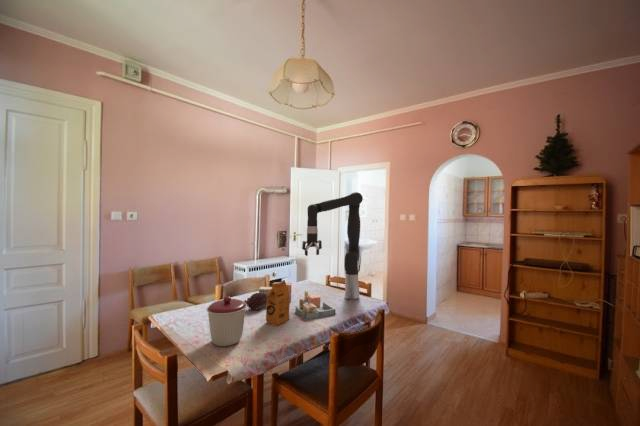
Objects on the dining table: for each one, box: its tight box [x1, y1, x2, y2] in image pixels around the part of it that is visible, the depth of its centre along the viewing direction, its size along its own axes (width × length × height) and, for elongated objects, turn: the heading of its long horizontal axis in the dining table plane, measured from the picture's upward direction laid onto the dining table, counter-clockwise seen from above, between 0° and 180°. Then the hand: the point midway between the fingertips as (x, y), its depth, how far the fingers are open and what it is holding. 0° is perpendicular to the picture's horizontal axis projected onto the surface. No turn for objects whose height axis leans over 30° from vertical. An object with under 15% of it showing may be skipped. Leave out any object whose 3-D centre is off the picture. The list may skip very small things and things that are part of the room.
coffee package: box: [265, 279, 291, 326], centre depth 153 cm, size 10×12×22 cm
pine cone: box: [243, 292, 268, 311], centre depth 172 cm, size 18×10×10 cm, turn 132°
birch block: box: [298, 298, 318, 314], centre depth 167 cm, size 6×16×6 cm, turn 28°
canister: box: [205, 295, 248, 347], centre depth 129 cm, size 18×18×21 cm
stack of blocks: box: [258, 281, 293, 304], centre depth 187 cm, size 21×6×12 cm, turn 92°
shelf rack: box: [295, 302, 336, 321], centre depth 167 cm, size 20×14×3 cm
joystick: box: [303, 290, 321, 308], centre depth 184 cm, size 6×16×6 cm, turn 27°
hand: (311, 255), depth 195 cm, fingers open, 8 cm apart
